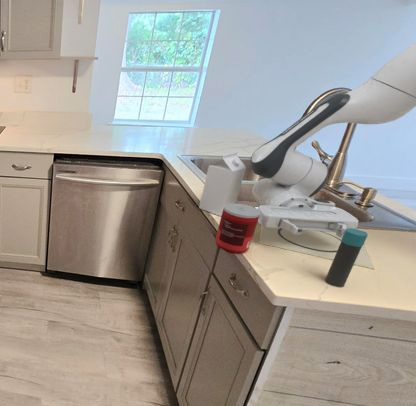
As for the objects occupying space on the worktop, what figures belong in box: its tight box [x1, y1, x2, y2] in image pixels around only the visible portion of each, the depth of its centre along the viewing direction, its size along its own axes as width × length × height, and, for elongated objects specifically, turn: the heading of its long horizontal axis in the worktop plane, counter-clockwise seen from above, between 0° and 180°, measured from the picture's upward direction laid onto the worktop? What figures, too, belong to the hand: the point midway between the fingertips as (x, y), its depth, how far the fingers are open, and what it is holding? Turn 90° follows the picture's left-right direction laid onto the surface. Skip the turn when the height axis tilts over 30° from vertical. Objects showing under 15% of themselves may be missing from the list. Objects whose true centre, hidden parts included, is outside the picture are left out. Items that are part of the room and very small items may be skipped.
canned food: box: [214, 202, 260, 254], centre depth 95 cm, size 8×8×11 cm
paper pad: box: [259, 225, 376, 270], centre depth 99 cm, size 22×20×1 cm
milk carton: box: [198, 151, 247, 217], centre depth 114 cm, size 7×7×19 cm
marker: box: [324, 228, 369, 288], centre depth 79 cm, size 3×3×13 cm
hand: (321, 233), depth 87 cm, fingers open, 8 cm apart
